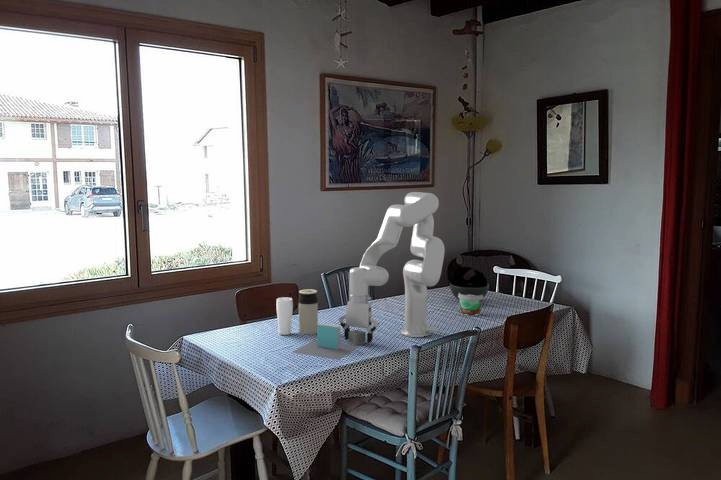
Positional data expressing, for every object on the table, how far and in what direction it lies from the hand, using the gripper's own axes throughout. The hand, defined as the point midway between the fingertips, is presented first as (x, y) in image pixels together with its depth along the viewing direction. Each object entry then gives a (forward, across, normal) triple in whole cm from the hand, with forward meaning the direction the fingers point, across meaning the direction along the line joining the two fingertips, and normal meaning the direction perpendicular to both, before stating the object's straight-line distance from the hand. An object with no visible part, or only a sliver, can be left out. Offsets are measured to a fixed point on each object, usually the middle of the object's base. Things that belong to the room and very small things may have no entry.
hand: (358, 340), depth 235 cm
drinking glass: (+2, +34, 0) cm, 34 cm away
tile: (+1, +8, +10) cm, 13 cm away
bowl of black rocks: (+1, -23, -88) cm, 91 cm away
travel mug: (+2, +26, -6) cm, 27 cm away
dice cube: (+2, +1, 0) cm, 2 cm away
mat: (+1, +8, +12) cm, 15 cm away
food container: (+2, -29, -64) cm, 71 cm away
